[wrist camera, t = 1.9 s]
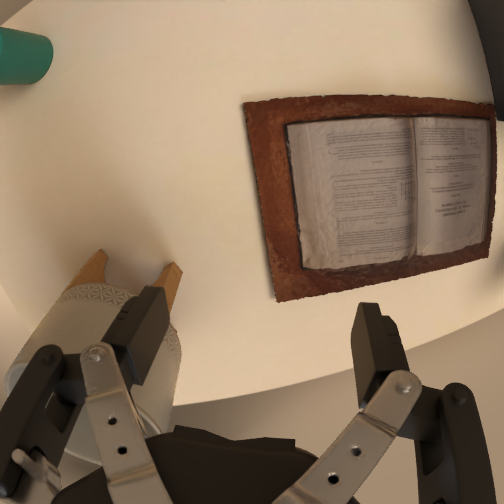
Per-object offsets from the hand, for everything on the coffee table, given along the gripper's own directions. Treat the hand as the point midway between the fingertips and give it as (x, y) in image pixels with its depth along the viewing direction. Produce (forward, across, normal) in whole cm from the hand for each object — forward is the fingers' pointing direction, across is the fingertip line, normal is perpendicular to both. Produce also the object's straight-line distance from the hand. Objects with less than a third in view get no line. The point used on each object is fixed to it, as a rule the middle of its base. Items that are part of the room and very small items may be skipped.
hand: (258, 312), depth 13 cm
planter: (+16, +15, +13) cm, 25 cm away
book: (+21, -12, +1) cm, 24 cm away
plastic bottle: (+16, +25, -14) cm, 33 cm away
